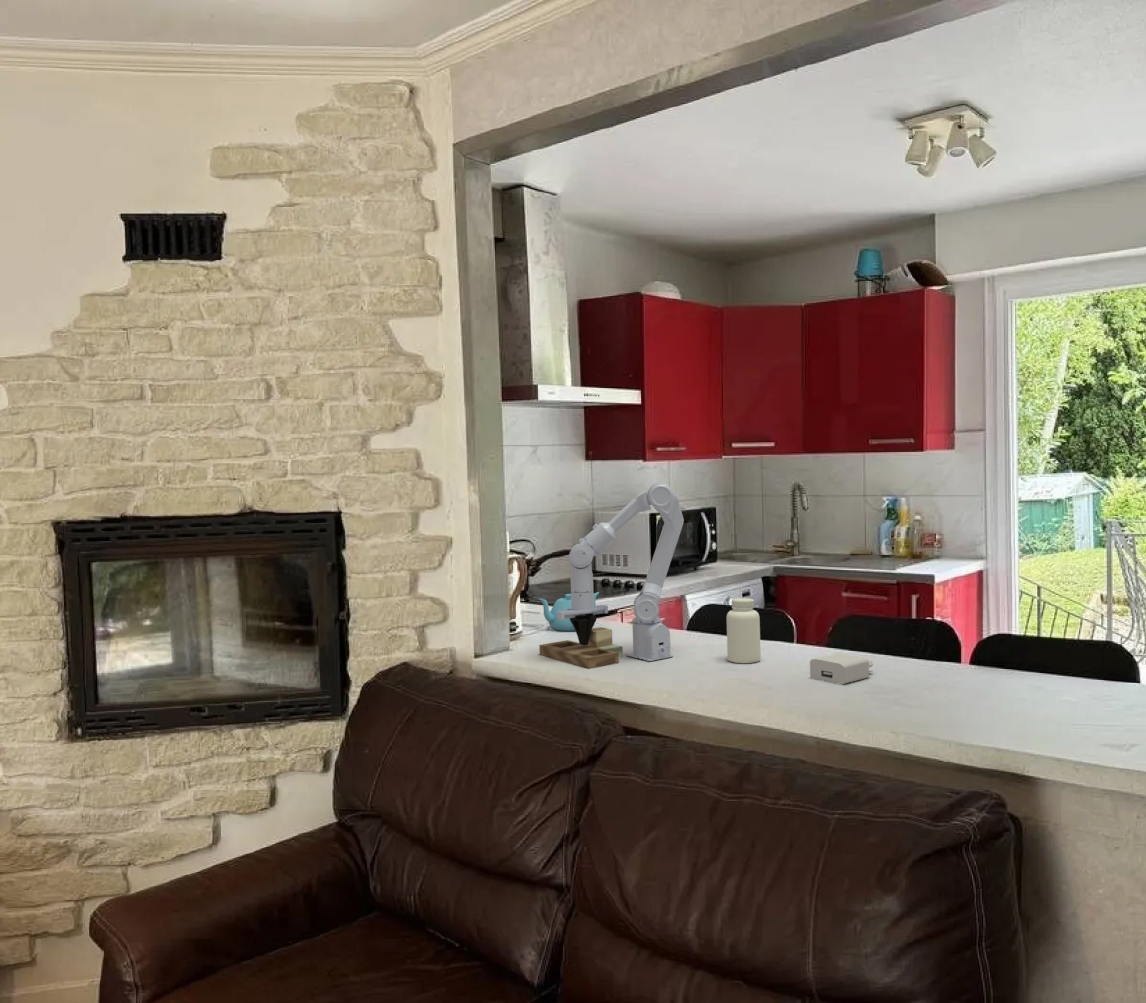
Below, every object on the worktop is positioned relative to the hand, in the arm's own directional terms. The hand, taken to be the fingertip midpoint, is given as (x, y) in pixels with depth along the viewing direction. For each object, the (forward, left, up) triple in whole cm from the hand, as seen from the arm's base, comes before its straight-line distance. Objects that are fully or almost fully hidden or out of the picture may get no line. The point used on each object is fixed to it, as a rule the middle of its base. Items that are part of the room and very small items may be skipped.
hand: (583, 644), depth 241 cm
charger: (-57, -32, -4) cm, 65 cm away
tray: (0, -1, -3) cm, 3 cm away
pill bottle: (-30, -27, -4) cm, 40 cm away
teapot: (+35, -21, -4) cm, 41 cm away
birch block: (0, -5, -1) cm, 5 cm away
